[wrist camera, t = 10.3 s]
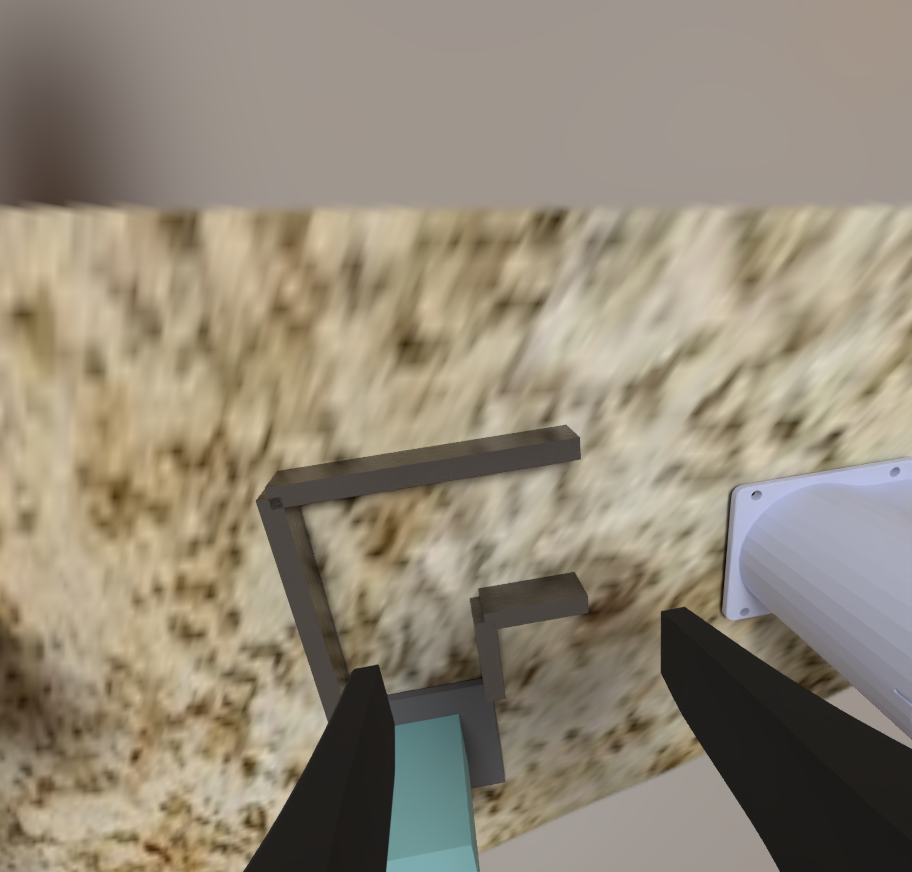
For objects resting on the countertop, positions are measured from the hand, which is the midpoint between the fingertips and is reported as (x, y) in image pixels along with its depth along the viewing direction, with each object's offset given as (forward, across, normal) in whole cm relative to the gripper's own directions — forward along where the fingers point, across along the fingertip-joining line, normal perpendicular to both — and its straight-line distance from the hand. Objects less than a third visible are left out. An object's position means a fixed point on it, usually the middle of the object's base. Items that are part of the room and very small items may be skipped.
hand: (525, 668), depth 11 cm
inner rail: (+10, -2, +8) cm, 13 cm away
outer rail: (+10, +2, +4) cm, 11 cm away
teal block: (+10, +5, +15) cm, 18 cm away
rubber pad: (+10, +5, +15) cm, 19 cm away
